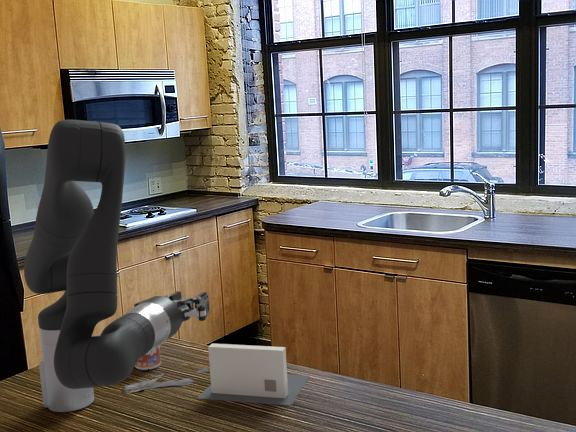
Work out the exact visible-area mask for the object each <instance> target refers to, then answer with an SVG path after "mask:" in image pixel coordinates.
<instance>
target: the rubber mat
mask: <svg viewBox="0 0 576 432" xmlns="http://www.w3.org/2000/svg"><path fill="white" fill-rule="evenodd" d="M310 377H311V375H303V374H302V375H300V374H288V373H287V382H288V395H287V397H286V398H274V397H261V396H247V395H233V394H220V393H212V390H211V384H209V386H207V387H206V389H204V391H202V392H201V394H199V395H198V396H197V397H196V399H198V400H199V399H200V400H213V401H226V402H239V403H252V404H262V405H263V404H264V405H265V404H266V405H277V406H278V405H280V406H292V405H293V403H294V402H295V400H296V398H297V397H298V395H299V394H300V392H301V391H302V390H303V388H304V386H305V385H306V383H307V382H308V380H309V379H310Z"/></svg>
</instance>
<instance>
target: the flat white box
mask: <svg viewBox="0 0 576 432" xmlns="http://www.w3.org/2000/svg"><path fill="white" fill-rule="evenodd" d="M286 350H287V348H286V347H285V346H269V345H267V346H266V345H248V344H247V345H246V344H231V343H211V344H210V345H208V360H209V361H208V362H209V363H208V364H209V372H210V373H209V374H210V385H211V390H212V393H220V394H233V395H247V396H261V397H274V398H286V397H287V395H288V382H287V374H288V367H287V366H288V365H287V353H286V352H287V351H286Z"/></svg>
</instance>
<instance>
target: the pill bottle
mask: <svg viewBox="0 0 576 432" xmlns="http://www.w3.org/2000/svg"><path fill="white" fill-rule="evenodd" d="M161 365H162V357H161V345H160V346H159V347H157V348H156V349H154V350H152V351H150V352H148V353H146V354H145V355H144V356H142V357H141V358H140V359H138V361H137V363H136V365H135V366H134V368H136V369H138V370H140V371H148V369H149V370H153V369H156V368H158V367H160V366H161Z"/></svg>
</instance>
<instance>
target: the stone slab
mask: <svg viewBox="0 0 576 432" xmlns="http://www.w3.org/2000/svg"><path fill="white" fill-rule="evenodd" d="M209 369H210V366H207V367H203V368H199V369H198V370H197V372H196V374H203V373H206V372H208V371H209ZM160 374H161V375H159V374H158V375H152V377H154V376H155V377H157V376H159V377H158V378H155V379H152V380H150V379H147V380H142V381H143V382H142V381H139V382H136V383H135V382H134V383H132V384H129V385H128V384H127V385H124V386H123V390H122V393H124V394H126V393H129V394H130V393H135V392H139V391H143V390H144V391H145V390H147V389H154V388H165V387H174V386H177V387H178V386H182V387H184V386H185V387H186V386H188V385H190V384H192V383H194V382H195V381H194V379H192V378H190V377H188V378H187V377H186V378H184V379H179V380H176V379H174V380H173V379H172V380H167V381H163V382H157V381H158V380H159V379H160V378H161V377H163V376H164V375H165V374H164V373H160ZM132 379H135V377H133V378H132Z"/></svg>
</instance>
